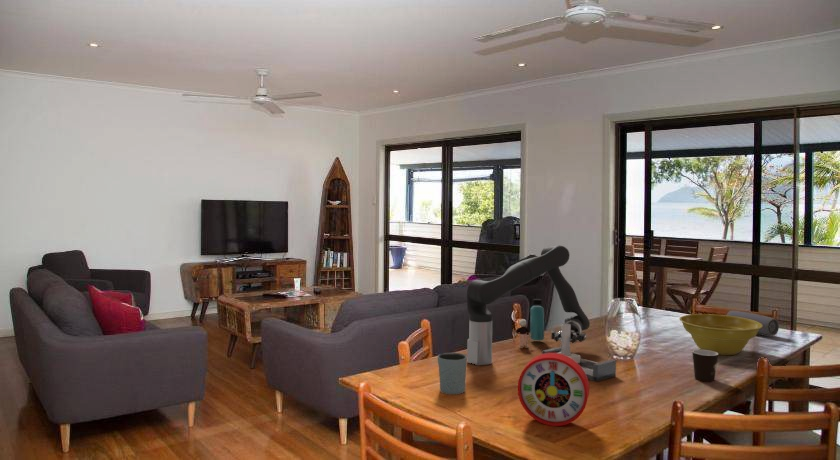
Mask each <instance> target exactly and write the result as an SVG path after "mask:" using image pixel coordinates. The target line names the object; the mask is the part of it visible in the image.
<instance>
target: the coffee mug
mask: <svg viewBox="0 0 840 460" xmlns="http://www.w3.org/2000/svg"><path fill="white" fill-rule="evenodd" d="M691 353H692V354H691V355H692V361H693V373H694V380H695V381H698V382H702V383H703V382H704V383H714V382H715V378H716V377H715V376H716V371H717V366H718V365H717V364H718V358H719V355H718V353H717V352H714V351H709V350H701V349H694V350H692V352H691ZM713 381H714V382H713Z"/></svg>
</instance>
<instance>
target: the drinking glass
mask: <svg viewBox="0 0 840 460" xmlns="http://www.w3.org/2000/svg"><path fill="white" fill-rule="evenodd" d="M437 364H438V374H439V375H438V376H439V390H440V393H442V392H443V393H442V394H445V393H446V395H452V394H453V395H454V394H456V395H461V393H462V394H464V393H466V378H467V377H466V376H467V375H466V373H467V364H468V362H467V355H466V354H464V353H460V352H444V353H440V354H438V355H437ZM463 392H464V393H463Z"/></svg>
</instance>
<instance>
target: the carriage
mask: <svg viewBox="0 0 840 460" xmlns="http://www.w3.org/2000/svg"><path fill="white" fill-rule="evenodd" d="M560 325H561V328H560V330H561V340H560V347H561V352H558V353H559V354H563V355H566V356H568V357H570V358H572V359H573V360H574V361H576V362H577V363H580V358H581V355H580V354H577V353H574V352H571V342H570V332H571V325H570V324H565V323H561V324H560Z"/></svg>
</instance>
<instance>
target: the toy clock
mask: <svg viewBox="0 0 840 460" xmlns="http://www.w3.org/2000/svg"><path fill="white" fill-rule="evenodd" d="M589 383H590V382H589V379H588V378H587V376H586V374H585V372H584V370H583V369H582V367H581V366H580V365H579V364H578V363H577V362H576V361H574V360H573V359H572V358H570V357H568V356H566V355H563V354H559V353H545V354H542V353H541V354H539V355H536V356H535V357H533V358H532V359H531V360H530V361H528V362H527V364H526V366H525V367H524V368H523V369H522V372H521V374H520V375H519V376H518V382H517V396H518V399H519V401H520V404H521V406H522V408H523V409H524V410H525V412H526V413H527V415H529V416H530V417H531V418H532V419H534V420H535V421H537V422H539V423H541V424H544V425H545V426H546V425H547V426H551V427H559V426H561V427H562V426H565V425H568V424H570V423H572V422H575V421H576V420H577V419H578V418H579V417H580V416H581V415H582V413H583V412H584V411H585V409H586V405H587V402H588V400H589V396H590V384H589Z"/></svg>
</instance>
